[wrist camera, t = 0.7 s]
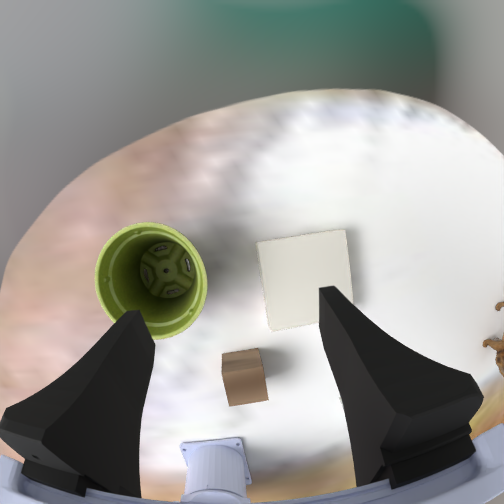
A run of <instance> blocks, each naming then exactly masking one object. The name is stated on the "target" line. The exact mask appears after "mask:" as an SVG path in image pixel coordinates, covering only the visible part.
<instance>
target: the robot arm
mask: <svg viewBox="0 0 504 504" xmlns="http://www.w3.org/2000/svg"><path fill="white" fill-rule="evenodd" d="M319 328H320V333H321V337H322V342H323V346H324V350H325V353H326V355H327V358H328V361H329V364H330V367H331V370H332V372H333V375H334V378H335V381H336V384H337V387H338V389H339V392H340V396H341V399H342V403H343V408H344V412H345V417H346V422H347V427H348V432H349V437H350V443H351V449H352V455H353V462H354V469H355V477H356V486H357V487H356V488H352V489H348V490H343V491H338V492H334V493H329V494H323V495H318V496H312V497H305V498H298V499H291V500H282V501H272V502H260V503H251V502H250V498H247V493H246V485H249V484H252V479H251V476H250V472H249V468H248V464H247V460H246V456H245V452H244V449H243V445H242V441H241V439H240V438H230V439H222V440H213V441H203V442H191V443H181V444H180V449H181V452H182V455H183V457H184V460H185V462H186V465H187V467H188V469H187V477H186V484H185V492H184V494H182V495H181V503H180V502H179V501H174V502H168V501H158V500H149V499H142V498H141V488H140V475H139V445H140V429H141V418H142V412H143V407H144V403H145V399H146V394H147V390H148V386H149V382H150V378H151V373H152V369H153V364H154V355H155V343H154V341H153V339H152V336H151V334H150V332H149V330H148V328H147V326H146V323H145V321H144V319H143V317H142V314H141V312H140V310H132V311H126V312H125V313H124V314H123V315H122V316H121V317H120V318H119V319H118V320H117V321H116V322H115V323H114V324H113V325H112V327H111V328H110V329H109V330H108V331H107V332H106V333H105V334H104V335H103V336H102V337H101V338H100V340H99V341H98V342H97V343H96V344H95V345H94V346H93V347H92V348H91V349H90V350H89V351H88V352H87V353H86V354H85V355H84V356H83V357H82V358H81V359H80V360H79V361H78V362H77V363H76V364H75V365H73V366H72V367H71V368H70V369H69V370H68V371H66V372H65V373H64V374H63V375H62V376H60V377H59V378H57V379H56V380H55V381H53V382H52V383H51V384H49V385H48V386H46V387H45V388H43V389H42V390H40V391H39V392H37V393H35V394H34V395H32V396H30V397H28V398H27V399H25V400H23V401H21V402H19V403H16V404H14V405H12V406H10V407H8V408H6V410H5V412H4V414H3V417H2V419H1V421H0V438H1V439H2V440H3V441H4V442H5V443H6V444H7V445H9V446H10V447H11V448H12V449H13V450H15V451H16V452H17V453H18V454H20V455H21V456H22V457H23V458H25V461H24V464H23V463H21V462H19V461H17V460H15V459H12V458H10V457H7V456H5V455H1V457H0V504H485V503H486V502H488V501H490V500H491V499H493V498H494V497H496V496H498V495H499V494H501V493H502V492H504V424H503V423H500V424H499V425H497V426H495V427H493V428H492V429H490V430H488V431H486V432H484V433H482V434H481V435H479V436H477V437H476V438H474V439H473V440H471V438H470V436H469V434H470V433H471V432H472V429H471V427H470V425H469V421H470V420H471V419H472V417H473V416H474V415H475V413H476V412H477V411H478V409H479V408H480V406H481V404H482V402H483V398H484V396H483V394H482V392H481V391H480V389H479V387H478V385H477V383H476V382H475V380H474V379H473V377H472V376H471V374H468V373H465V372H462V371H459V370H456V369H453V368H450V367H447V366H445V365H442V364H440V363H438V362H435V361H433V360H431V359H429V358H427V357H425V356H423V355H421V354H419V353H417V352H415V351H413V350H412V349H410V348H408V347H406V346H405V345H403V344H402V343H400V342H399V341H397V340H396V339H394V338H393V337H391V336H390V335H388V334H387V333H386V332H384V331H383V330H382V329H380V328H379V327H378V326H377V325H376V324H374V323H373V322H372V321H371V320H370V319H368V318H367V317H366V316H365V315H364V314H363V313H362V312H361V311H360V310H359V309H358V308H356V307H355V306H354V305H353V304H352V303H351V302H350V301H349V300H348V299H347V298H346V297H345V296H344V295H343V294H342V293H341V291H340V290H339V289H338V288H337V287H335V286H334V285H333V286H327V287H321V288H319ZM237 443H239V444H237ZM184 449H186V450H184ZM247 477H248V478H247Z"/></svg>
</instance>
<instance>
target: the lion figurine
mask: <svg viewBox="0 0 504 504" xmlns="http://www.w3.org/2000/svg"><path fill="white" fill-rule="evenodd" d="M501 307H504V302H500V303H498V304H497V305H496V310H497V311H500V309H501ZM487 345H489V346H491V347H492V348H493V349H494V350H496V351H497V353H496V354H497V355H496V359H495V360H496V364H497V366H498V367H499V370H500V373H501V374H502V375H503V377H504V334H503V338H502V340H500V339H499V338H494V339H493V340H491V339H487V340H485V341H484V342H483V347H487Z"/></svg>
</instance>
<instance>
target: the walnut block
mask: <svg viewBox="0 0 504 504" xmlns="http://www.w3.org/2000/svg"><path fill="white" fill-rule="evenodd" d="M222 377H223V382H224V386H225V390H226V395H227V399H228V403H229V406H236V405H243V404H249V403H255V402H261V401H266V400H269V399H268V393H267V388H266V382H265V376H264V370H263V365H262V361H261V358H260V354H259V350H258V348H254V349H248V350H242V351H236V352H230V353H223V354H222Z"/></svg>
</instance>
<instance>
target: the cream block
mask: <svg viewBox="0 0 504 504" xmlns="http://www.w3.org/2000/svg"><path fill="white" fill-rule="evenodd" d="M255 244H256V250H257V257H258V263H259V270H260V276H261V283H262V289H263V296H264V302H265V309H266V315H267V322H268V326H269V328H270V330H271V332H274V331H279V330H285V329H290V328H295V327H300V326H305V325H309V324H314V323H319V288H321V287H327V286H333V285H334V286H335V287H337V288H338V289H339V290H340V291H341V293H342V294H343V295H344V296H345V297H346V298H347V299H348V300H349V301H350V302H351V303H352V304H353V293H352V283H351V273H350V264H349V255H348V247H347V239H346V232H345V229H338V230H330V231H324V232H317V233H311V234H304V235H298V236H291V237H285V238H279V239H272V240H266V241H260V242H255Z"/></svg>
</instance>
